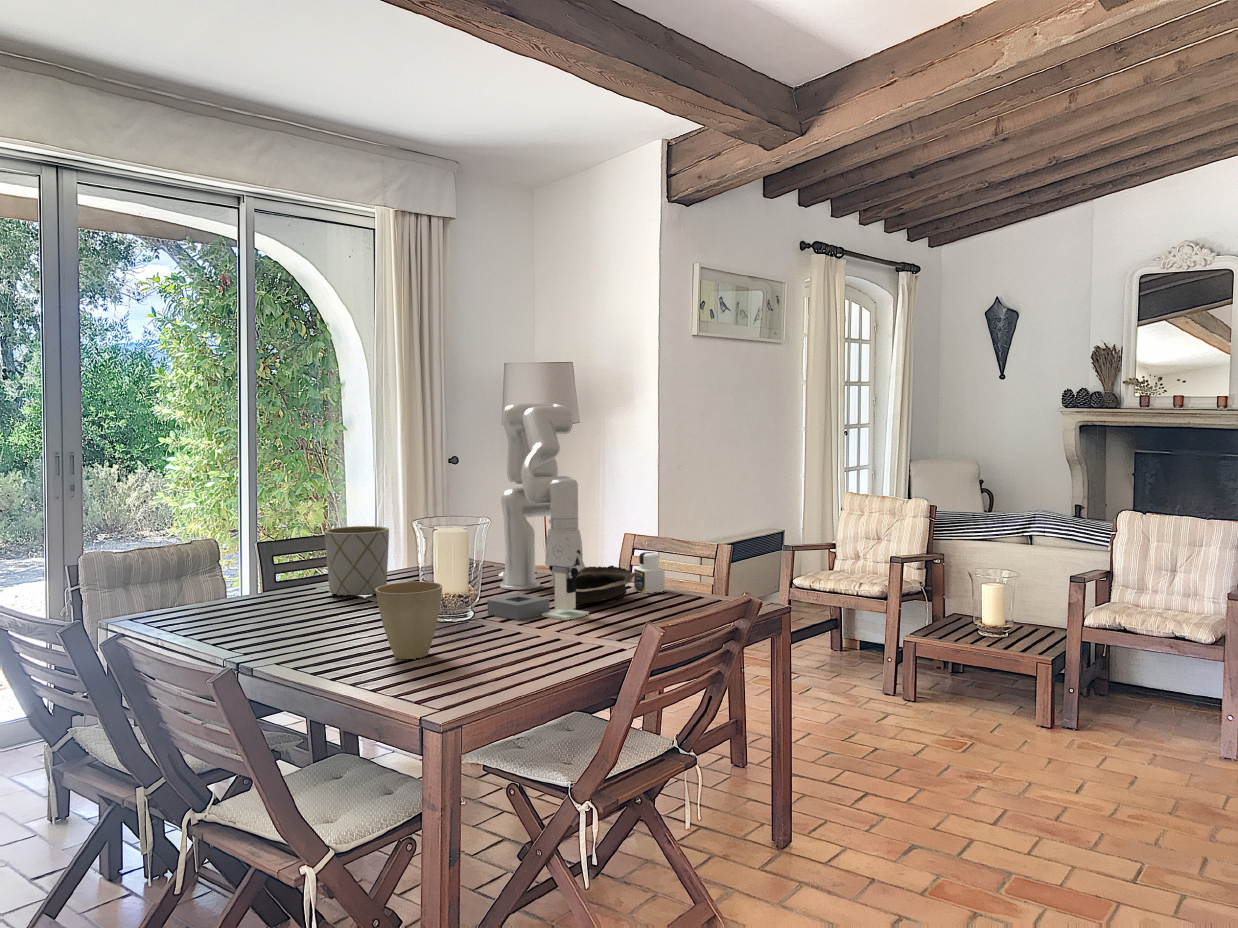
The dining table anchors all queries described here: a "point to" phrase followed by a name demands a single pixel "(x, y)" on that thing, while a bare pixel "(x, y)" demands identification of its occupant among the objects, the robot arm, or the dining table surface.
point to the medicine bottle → (649, 574)
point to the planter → (356, 559)
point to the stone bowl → (601, 584)
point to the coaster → (565, 614)
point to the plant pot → (409, 616)
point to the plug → (563, 590)
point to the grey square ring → (518, 606)
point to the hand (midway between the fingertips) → (565, 590)
